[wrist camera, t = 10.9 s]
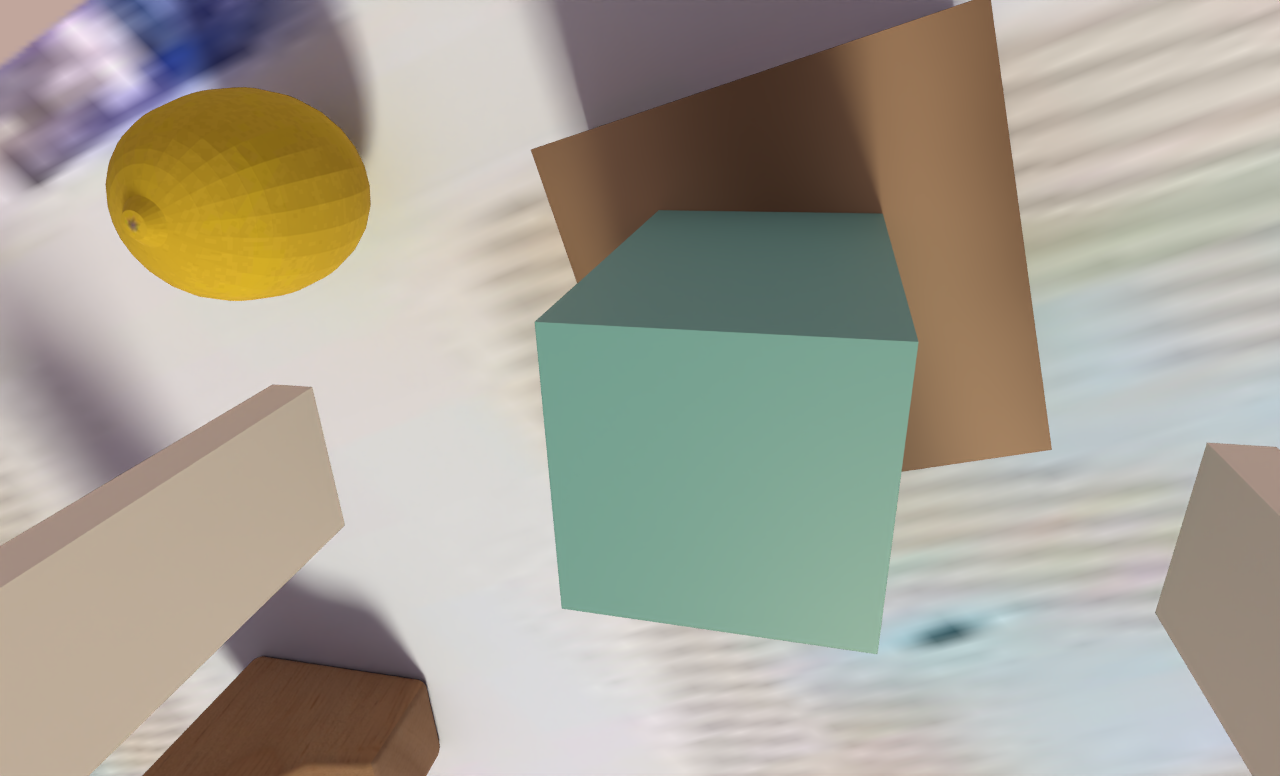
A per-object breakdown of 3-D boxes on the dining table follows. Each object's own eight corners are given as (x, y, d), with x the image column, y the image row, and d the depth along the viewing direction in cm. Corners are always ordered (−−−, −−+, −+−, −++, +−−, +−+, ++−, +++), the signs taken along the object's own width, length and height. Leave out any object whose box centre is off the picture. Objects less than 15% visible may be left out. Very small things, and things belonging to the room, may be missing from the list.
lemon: (404, 281, 25) (233, 372, 18) (259, 224, 25) (35, 291, 18) (430, 117, 22) (243, 146, 15) (269, 57, 23) (14, 58, 16)
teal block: (662, 403, 19) (562, 608, 12) (658, 210, 17) (534, 321, 10) (861, 418, 18) (877, 653, 11) (882, 213, 16) (918, 342, 9)
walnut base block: (687, 427, 25) (655, 507, 21) (592, 130, 22) (530, 149, 17) (1007, 369, 22) (1051, 449, 17) (952, 8, 19) (990, -6, 14)
